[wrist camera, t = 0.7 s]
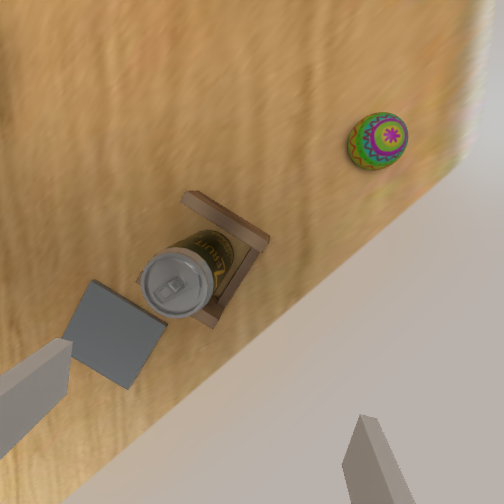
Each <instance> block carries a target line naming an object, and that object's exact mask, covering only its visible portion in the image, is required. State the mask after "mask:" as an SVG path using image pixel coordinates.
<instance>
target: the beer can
mask: <svg viewBox="0 0 504 504" xmlns="http://www.w3.org/2000/svg"><path fill="white" fill-rule="evenodd" d="M232 262H233V250H232V246H231V245H230V243H229V241H228V240H227V239H226V238H225V237H224V236H223V235H222V234H220V233H218V232H216V231H209V230H206V231H200V232H198V233H196V234H194V235H192V236H190V237H188V238H186V239H184V240H182V241H180V242H178V243H176V244H174V245H172V246H170V247H168V248H166V249H164V250H162V251H160V252H158V253H156V254H155V255H154V256H153V257H152V258H151V260H150V261H149V262H148V264H147V265H146V267H145V269H144V271H143V273H142V276H141V289H142V293H143V297H144V298H145V300H146V301H147V303H148V305H149V306H150V307H151V308H152V309H153V310H155V311H156V312H157V313H159V314H161V315H163V316H165V317H170V318H176V319H177V318H184V317H188V316H190V315H192V314H194V313H195V312H197V311H199V310H201V309H202V308H203V307H204V306H205V305H206V304H207V303H208V302H209V300H210V299H211V297H212V295H213V294H214V292H215V291H216V289H217V288H218V286H219V284H220V283H221V281H222V280H223V278H224V277H225V275H226V274H227V272H228V270H229V269H230V267H231V265H232Z"/></svg>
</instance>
